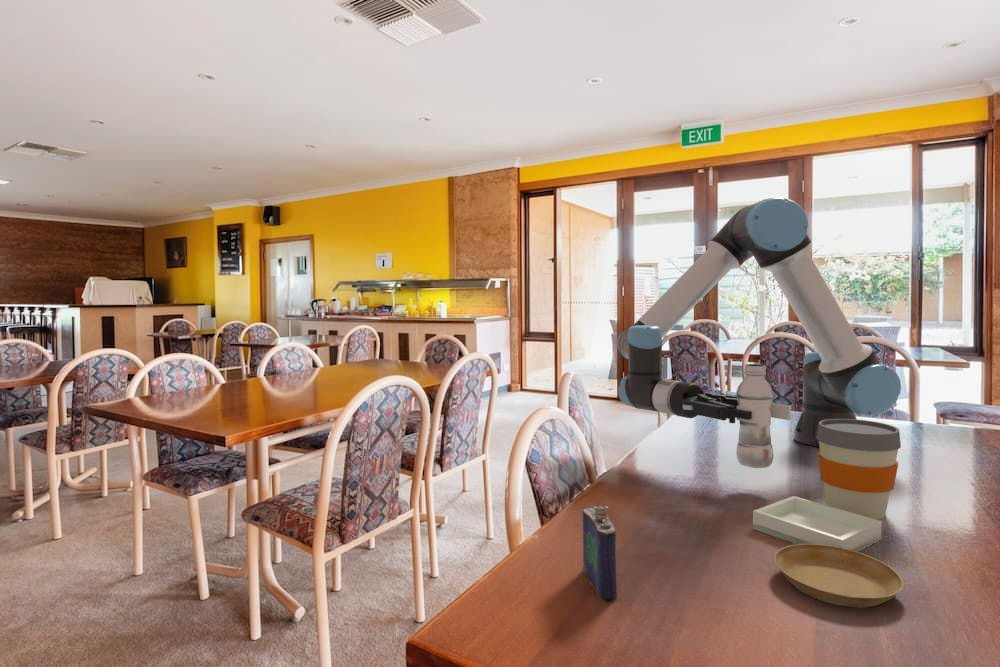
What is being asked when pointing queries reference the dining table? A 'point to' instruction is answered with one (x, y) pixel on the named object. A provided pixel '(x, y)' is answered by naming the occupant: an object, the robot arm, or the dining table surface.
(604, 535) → the flask
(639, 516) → the dining table surface
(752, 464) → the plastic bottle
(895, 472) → the reusable coffee cup
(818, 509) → the tray
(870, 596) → the plant saucer
